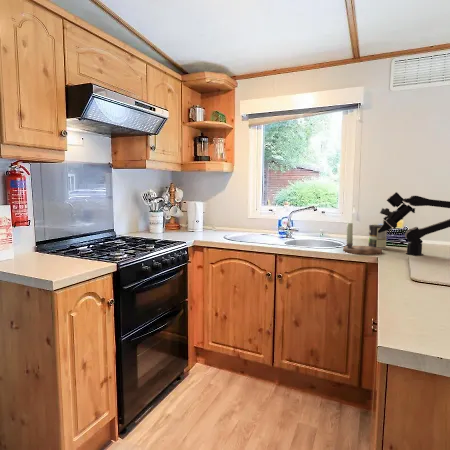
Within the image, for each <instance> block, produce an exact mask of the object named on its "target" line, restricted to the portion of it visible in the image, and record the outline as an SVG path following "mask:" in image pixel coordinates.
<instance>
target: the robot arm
mask: <svg viewBox="0 0 450 450" xmlns="http://www.w3.org/2000/svg"><path fill="white" fill-rule="evenodd" d="M386 201H387V202H388V203H389V204H390V205H391V206H392V207H393V208H395V207H396V209H395V210H393V211H390V208H387V207H386V208H383V207H382V208H381V209H380V211H379V214H381V215H384V217H383V220H382V222H383V223H382V224H381V225H382V226H381V228H380V229H379V230H378V233H381V232H383V231H386V230H387V231H390V230H391V229H392V230H393V229H396V228H397V227H398V223H399V222H400V221H402V220H403V219H404V218H406V216H407V215H409V214H410V213H412V214H415V213H416V208H415V207H425V206H426V207H427V206H429V207H436V208H446V209H450V201H449V200H440V199H429V198H426V197H424V196H419V195H411V196H409V197H408V198H407V197H406V198H405V197H404V198H403V197H402V196H401V195H400V194H399V193H398V192H397V191H396V192H395V193H393V194H392V195H390V196H389V197H388V198H387V199H386ZM449 228H450V218H449V219H445V220H443V221H440V222H437V223H434V224H432V225H428V226H425V227H424V226H423V227H422V228H419V227H418V226H415V227H412V228H408V230H406V232H405V234H404V237H405V239H406V240H408V243H407V247H406V249H407V250H406V252H405V254H406V255H410V256H424V253H422V252H423V251H422V250H423V239H422V238H423V237H425V236H426V235H429V234H432V233H436V232H438V231H442V230H445V229H449Z"/></svg>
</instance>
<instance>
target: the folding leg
mask: <svg viewBox="0 0 450 450" xmlns="http://www.w3.org/2000/svg"><path fill="white" fill-rule="evenodd" d="M353 225H354V224H353V223H352V222H350V223H349V222H347V223H346V245H347V244H352V246H354V245H353V242H354V241H353V240H354V239H353V235H354V233H353V231H354V230H353V228H354V227H353Z"/></svg>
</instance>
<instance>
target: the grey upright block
mask: <svg viewBox="0 0 450 450" xmlns="http://www.w3.org/2000/svg"><path fill="white" fill-rule="evenodd" d="M382 225H383V224H369V225H368V245H367V246H370V247H377V248H381V249H382V250H385V249H387V236H388V235H387V233H388V230H386V231H383V232H381V233H378V230H379V229H380V228H381V226H382Z"/></svg>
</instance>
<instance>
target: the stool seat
mask: <svg viewBox="0 0 450 450" xmlns="http://www.w3.org/2000/svg"><path fill="white" fill-rule="evenodd" d="M342 249H343V250H342V252H344V251H345V252H344V253H346V252H348V253H347V254H351V253H352V255H362V256H375V255H377V256H378V255H381V254H382V255H383V249H381V248H377V247H370V246H368V245H352V244H347V243H346V245H345V246H343V247H342Z"/></svg>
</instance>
